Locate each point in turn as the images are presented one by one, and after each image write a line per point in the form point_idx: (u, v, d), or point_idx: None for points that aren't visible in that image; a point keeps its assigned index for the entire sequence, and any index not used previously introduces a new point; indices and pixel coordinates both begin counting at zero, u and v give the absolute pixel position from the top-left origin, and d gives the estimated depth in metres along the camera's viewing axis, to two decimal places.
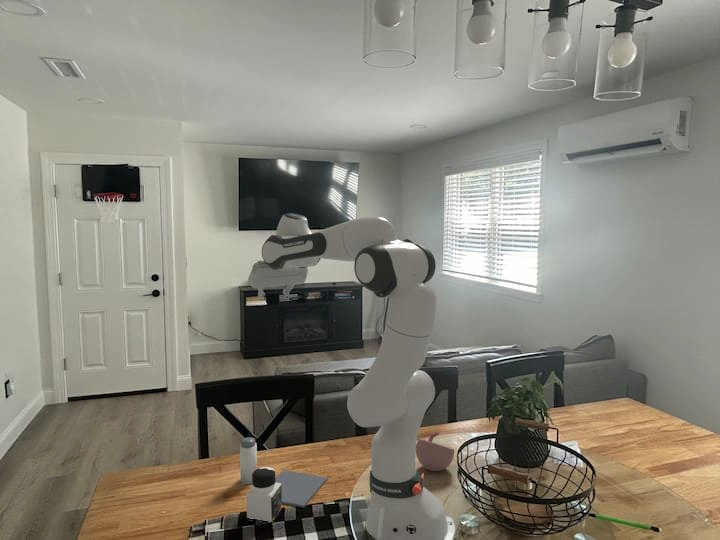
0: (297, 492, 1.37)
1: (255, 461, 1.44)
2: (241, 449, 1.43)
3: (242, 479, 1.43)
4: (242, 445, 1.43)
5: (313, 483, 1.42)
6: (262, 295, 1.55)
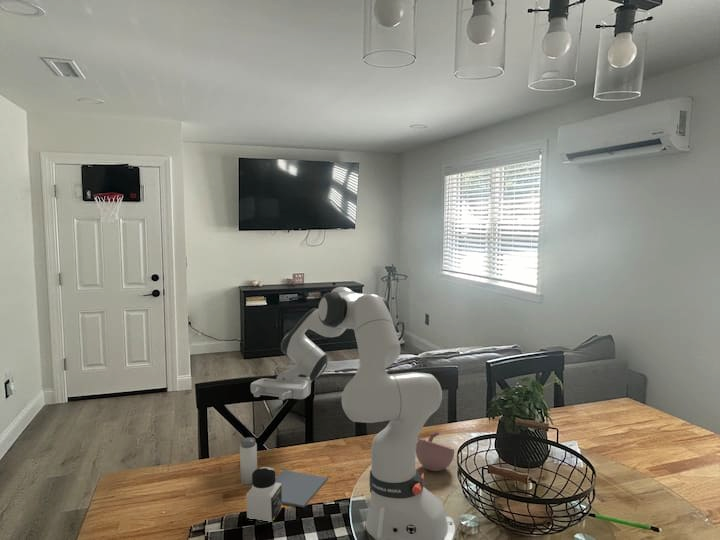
0: (297, 492, 1.37)
1: (255, 461, 1.44)
2: (241, 449, 1.43)
3: (242, 479, 1.43)
4: (242, 445, 1.43)
5: (313, 483, 1.42)
6: (256, 391, 1.58)
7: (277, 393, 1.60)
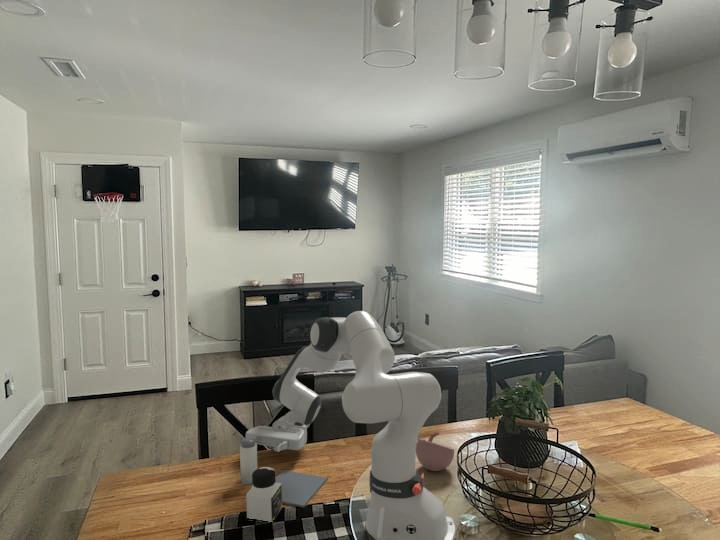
0: (297, 492, 1.37)
1: (255, 461, 1.44)
2: (241, 449, 1.43)
3: (242, 479, 1.43)
4: (242, 445, 1.43)
5: (313, 483, 1.42)
6: None
7: (272, 443, 1.57)
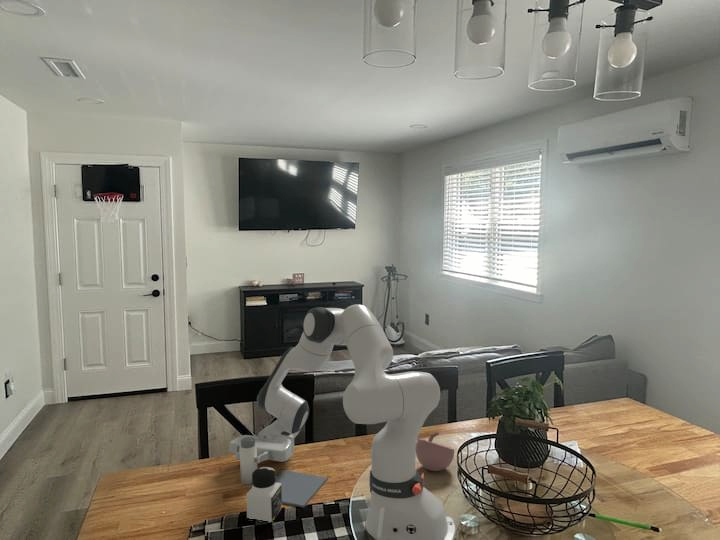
0: (297, 492, 1.37)
1: None
2: (241, 449, 1.43)
3: (242, 479, 1.43)
4: (242, 445, 1.43)
5: (313, 483, 1.42)
6: (239, 453, 1.46)
7: (257, 454, 1.49)
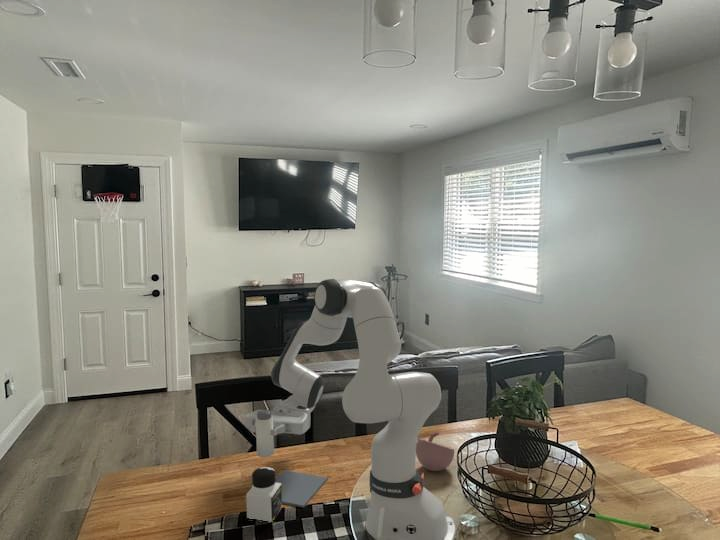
0: (297, 492, 1.37)
1: None
2: (257, 421, 1.39)
3: (258, 452, 1.40)
4: (258, 417, 1.40)
5: (313, 483, 1.42)
6: (255, 426, 1.43)
7: (273, 427, 1.46)
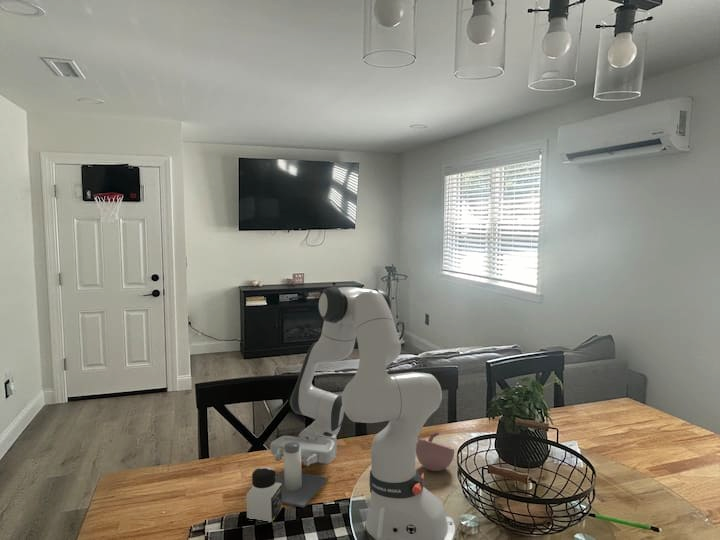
0: (297, 492, 1.37)
1: (300, 467, 1.39)
2: (285, 454, 1.37)
3: (286, 485, 1.38)
4: (286, 450, 1.38)
5: (313, 483, 1.42)
6: (278, 453, 1.41)
7: None
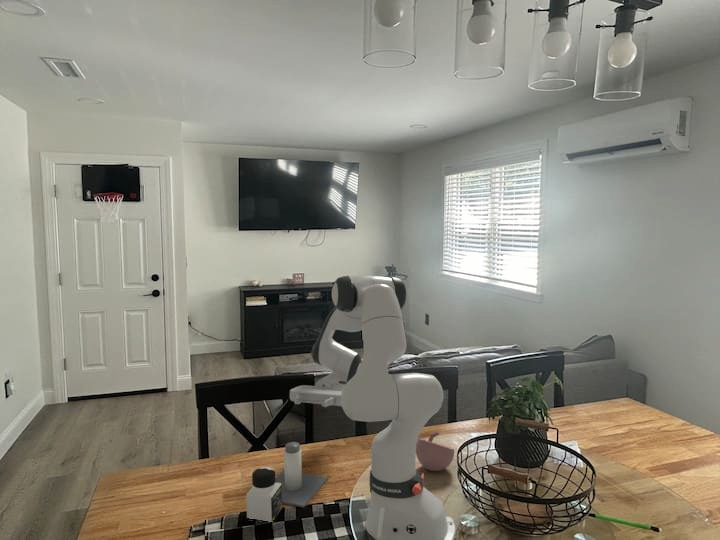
0: (297, 492, 1.37)
1: (300, 467, 1.39)
2: (286, 454, 1.37)
3: (286, 485, 1.38)
4: (287, 450, 1.38)
5: (313, 483, 1.42)
6: (297, 398, 1.52)
7: (318, 400, 1.55)
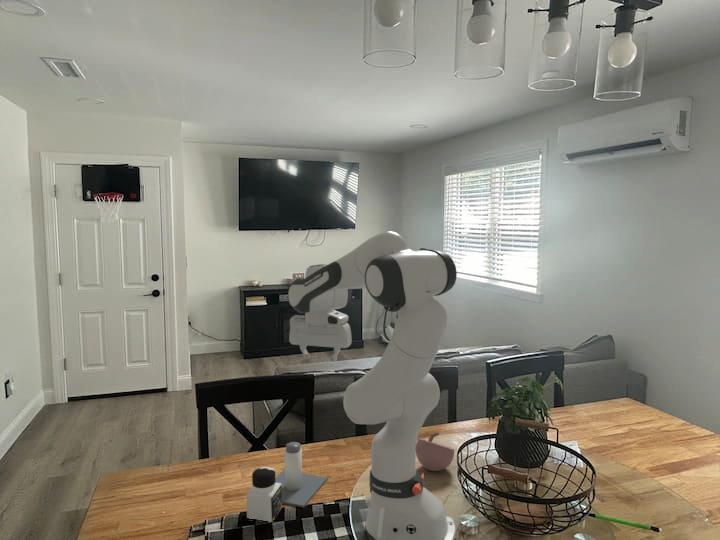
0: (297, 492, 1.37)
1: (300, 467, 1.39)
2: (286, 454, 1.37)
3: (286, 485, 1.38)
4: (287, 450, 1.38)
5: (313, 483, 1.42)
6: (304, 355, 1.51)
7: None
